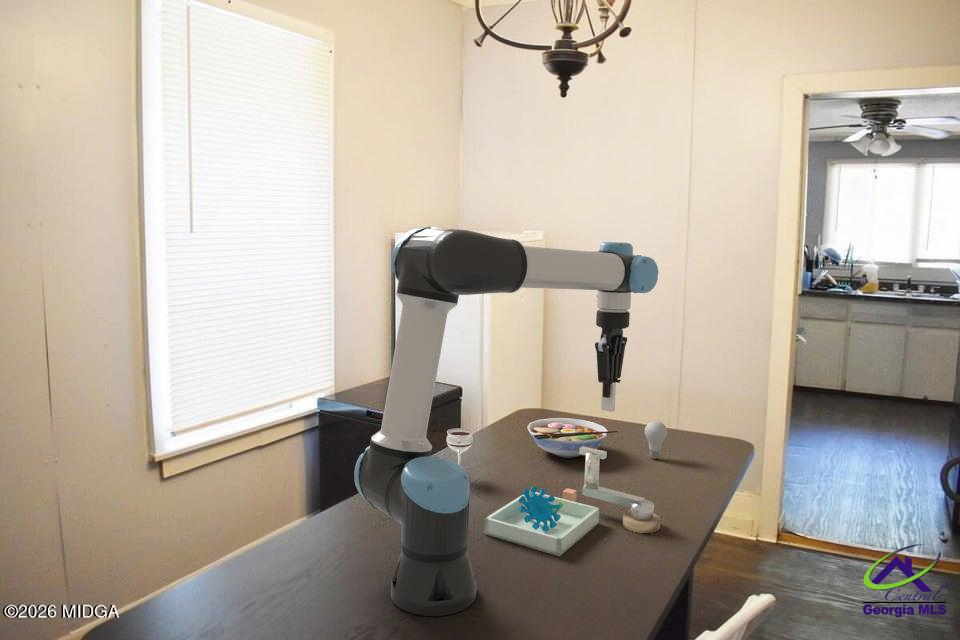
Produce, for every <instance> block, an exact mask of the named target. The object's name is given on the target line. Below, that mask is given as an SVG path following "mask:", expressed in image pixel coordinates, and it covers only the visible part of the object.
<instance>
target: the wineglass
mask: <svg viewBox="0 0 960 640" xmlns="http://www.w3.org/2000/svg"><path fill="white" fill-rule="evenodd" d="M446 433H447V436H446V444H447V446H448V447H449V448H450V449H451V450H452V451H453V452H455V453H456V454H457V463H458V464H459V465H460V466H461V460H462V456H461V455H462V454H463V453H464V452H466V451H468V450H470V448H471V447H472V445H473V441H474V438H473V436H472V435H473V434H474V431H473V430H471V429H469V428H463V427H462V428H461V427H460V428H459V427H456V428H450V429H448V430H447V431H446Z"/></svg>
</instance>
